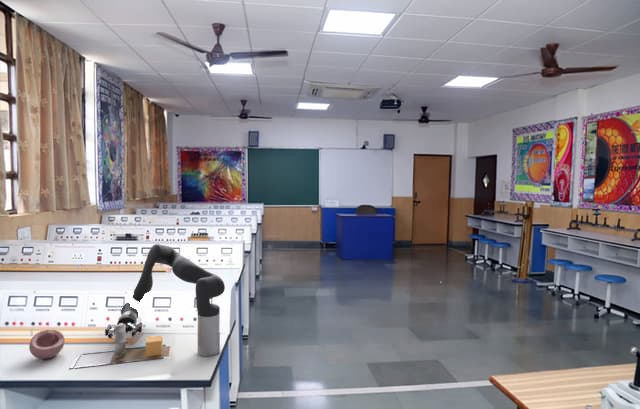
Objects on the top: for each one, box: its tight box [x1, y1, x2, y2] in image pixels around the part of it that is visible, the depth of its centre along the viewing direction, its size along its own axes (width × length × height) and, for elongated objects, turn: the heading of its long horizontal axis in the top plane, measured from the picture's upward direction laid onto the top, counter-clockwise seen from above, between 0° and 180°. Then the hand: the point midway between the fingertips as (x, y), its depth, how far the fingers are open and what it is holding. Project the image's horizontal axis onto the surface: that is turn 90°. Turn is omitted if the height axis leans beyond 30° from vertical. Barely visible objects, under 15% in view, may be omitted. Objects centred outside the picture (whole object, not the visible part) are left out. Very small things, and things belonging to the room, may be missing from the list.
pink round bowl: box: [28, 329, 66, 360], centre depth 161 cm, size 12×12×11 cm
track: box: [68, 343, 167, 370], centre depth 161 cm, size 34×14×2 cm, turn 108°
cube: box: [145, 334, 163, 356], centre depth 165 cm, size 6×6×6 cm
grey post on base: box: [109, 324, 171, 363], centre depth 163 cm, size 22×10×14 cm, turn 108°
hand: (121, 335), depth 163 cm, fingers open, 8 cm apart
